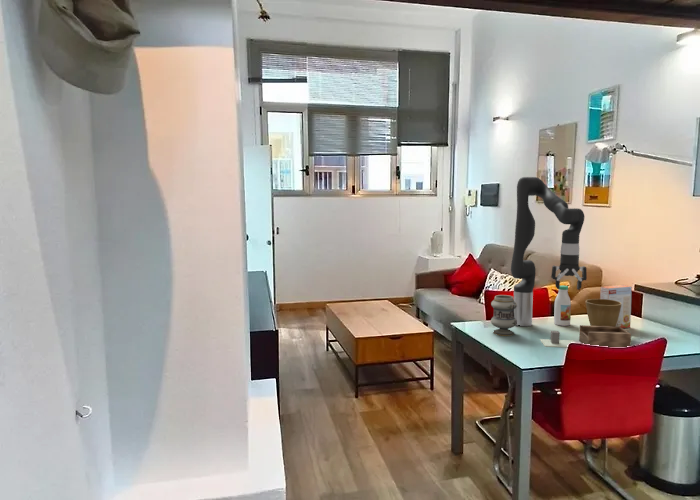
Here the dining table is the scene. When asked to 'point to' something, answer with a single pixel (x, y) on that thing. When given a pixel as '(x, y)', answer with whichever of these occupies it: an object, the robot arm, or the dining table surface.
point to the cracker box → (621, 295)
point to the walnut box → (604, 336)
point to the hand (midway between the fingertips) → (568, 289)
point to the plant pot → (603, 312)
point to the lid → (555, 341)
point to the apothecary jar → (504, 314)
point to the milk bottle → (562, 307)
